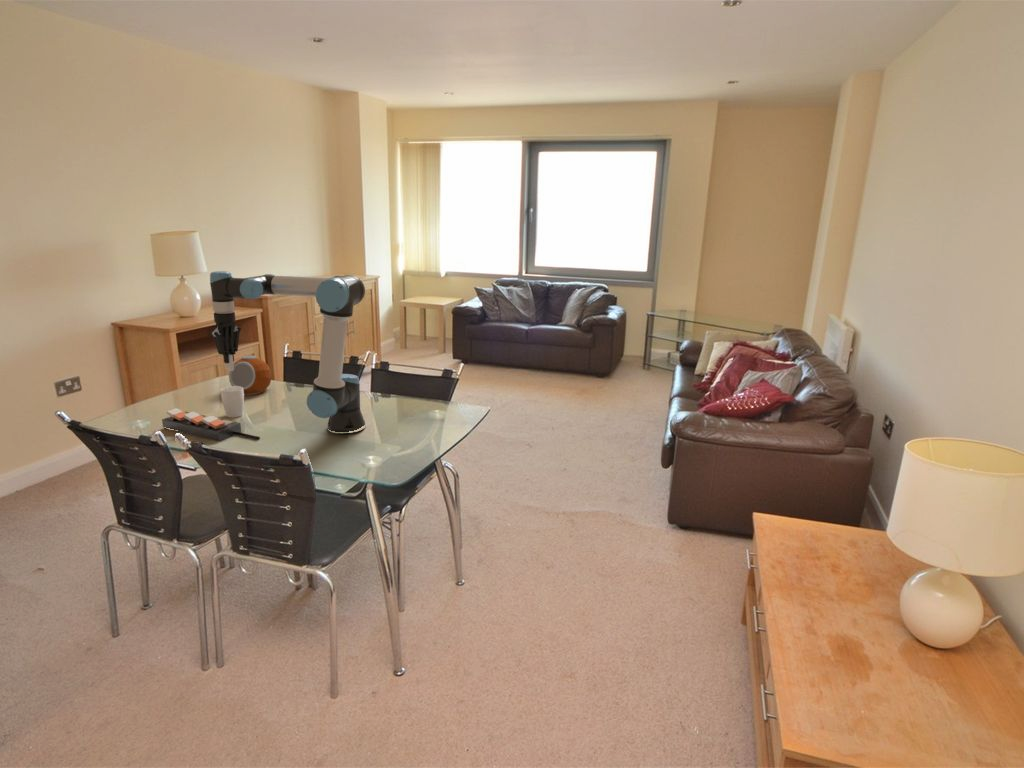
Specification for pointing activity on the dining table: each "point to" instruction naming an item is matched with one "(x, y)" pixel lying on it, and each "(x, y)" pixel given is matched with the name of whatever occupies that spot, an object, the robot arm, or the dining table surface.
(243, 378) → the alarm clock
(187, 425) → the power strip
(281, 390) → the dining table surface
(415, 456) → the dining table surface
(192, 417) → the rocker
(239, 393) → the cup
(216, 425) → the rocker
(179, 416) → the rocker
